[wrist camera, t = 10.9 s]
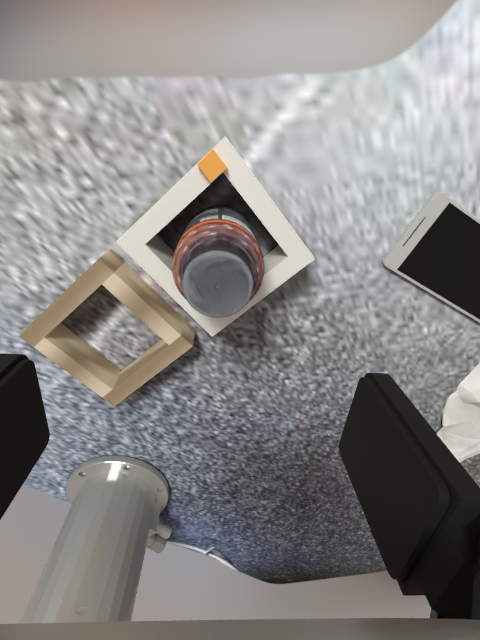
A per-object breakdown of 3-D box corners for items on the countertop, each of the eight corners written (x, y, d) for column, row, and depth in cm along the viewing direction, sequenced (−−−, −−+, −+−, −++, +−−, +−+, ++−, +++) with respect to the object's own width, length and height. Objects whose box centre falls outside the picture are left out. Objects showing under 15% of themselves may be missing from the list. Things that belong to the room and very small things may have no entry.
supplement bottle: (217, 286, 29) (213, 352, 19) (170, 237, 27) (138, 283, 17) (267, 243, 28) (292, 291, 18) (222, 188, 26) (220, 207, 16)
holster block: (195, 330, 31) (192, 346, 29) (123, 387, 34) (114, 406, 31) (111, 249, 27) (98, 258, 25) (36, 320, 30) (18, 336, 28)
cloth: (436, 491, 46) (446, 506, 44) (360, 463, 42) (367, 478, 40) (598, 352, 36) (620, 364, 34) (514, 302, 32) (533, 312, 30)
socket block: (303, 246, 28) (317, 261, 24) (213, 316, 31) (211, 340, 27) (225, 139, 24) (225, 135, 20) (130, 231, 27) (113, 243, 23)
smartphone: (491, 329, 33) (498, 334, 32) (377, 261, 29) (382, 264, 29) (548, 271, 31) (557, 274, 30) (432, 188, 27) (439, 189, 26)
